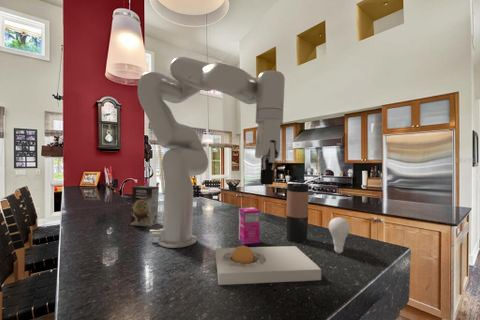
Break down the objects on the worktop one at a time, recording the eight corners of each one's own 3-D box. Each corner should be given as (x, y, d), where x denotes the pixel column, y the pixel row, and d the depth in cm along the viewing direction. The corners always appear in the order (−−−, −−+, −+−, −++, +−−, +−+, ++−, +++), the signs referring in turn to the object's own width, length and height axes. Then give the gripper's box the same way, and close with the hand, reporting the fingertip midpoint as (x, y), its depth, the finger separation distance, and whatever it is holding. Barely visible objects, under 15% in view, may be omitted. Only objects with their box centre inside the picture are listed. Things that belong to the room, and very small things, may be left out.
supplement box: (238, 240, 84) (238, 207, 84) (253, 239, 86) (254, 207, 86) (243, 246, 79) (244, 210, 79) (260, 244, 80) (260, 210, 81)
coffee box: (130, 225, 100) (131, 186, 101) (139, 221, 107) (140, 185, 107) (150, 226, 99) (151, 187, 99) (158, 223, 105) (159, 186, 105)
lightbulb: (323, 251, 76) (324, 216, 76) (338, 248, 78) (339, 214, 78) (338, 258, 70) (339, 220, 70) (354, 255, 73) (354, 219, 73)
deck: (218, 284, 53) (219, 273, 53) (215, 256, 69) (215, 248, 69) (321, 280, 56) (321, 269, 56) (295, 254, 72) (295, 246, 72)
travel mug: (305, 236, 90) (306, 183, 91) (309, 243, 83) (310, 185, 83) (285, 235, 91) (286, 183, 91) (286, 242, 83) (288, 184, 84)
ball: (234, 246, 60) (256, 248, 60) (232, 243, 65) (252, 245, 66) (232, 269, 58) (254, 271, 59) (229, 264, 64) (249, 266, 64)
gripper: (251, 121, 73) (248, 181, 73) (261, 111, 58) (258, 186, 58) (275, 123, 74) (272, 182, 74) (291, 113, 59) (288, 187, 59)
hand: (266, 184), depth 66 cm, fingers closed
